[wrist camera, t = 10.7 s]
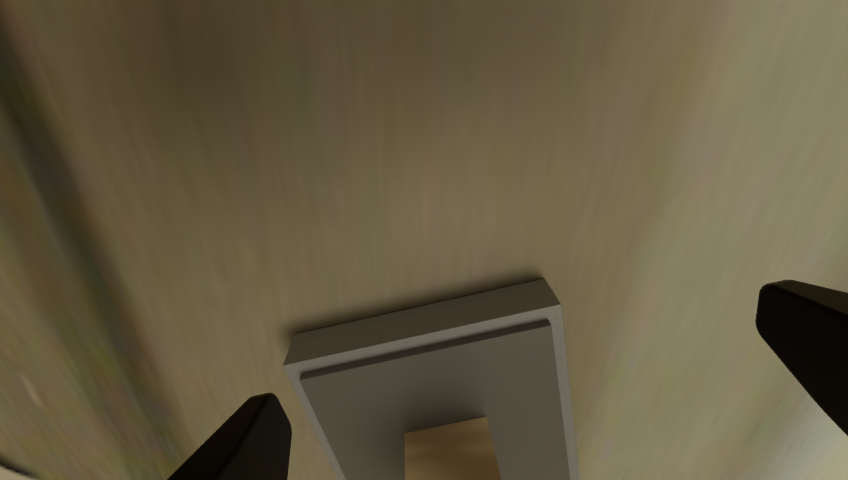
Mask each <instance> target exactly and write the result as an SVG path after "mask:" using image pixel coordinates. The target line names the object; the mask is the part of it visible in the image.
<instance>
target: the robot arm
mask: <svg viewBox="0 0 848 480" xmlns="http://www.w3.org/2000/svg"><path fill="white" fill-rule="evenodd" d="M756 327H757V330H758V332H759V334H760V335H761V337H762V338H763V339H764V340H765V342H766V343H767V344H768V345H769V346H770V348H771V349H772V350H773V351H774V352H775V354H776V355H777V356H778V357H779V358H780V360H781V361H782V362H783V363H784V364H785V366H786V367H787V368H788V369H789V371H790V372H791V373H792V374H793V375H794V377H795V378H796V379H797V380H798V381H799V383H800V384H801V385H802V386H803V387H804V389H805V390H806V391H807V392H808V393H809V395H810V396H811V397H812V398H813V399H814V400H815V402H816V403H817V404H818V405H819V406H820V407H821V408H822V410H823V411H824V412H825V413H826V414H827V415H828V416H829V417H830V418H831V419H832V420H833V421H834V422H835V423H836V424H837V425H838V427H839V428H840V429H841V430H842V431H843V432H844V433H845V434H846V435H847V436H848V293H846V292H842V291H837V290H833V289H829V288H825V287H820V286H816V285H812V284H807V283H803V282H799V281H794V280H783V281H778V282H773V283H769V284H766V285H764V286H763V287H762V288H761V289H760V292H759V299H758V307H757V314H756ZM291 436H292V430H291V425H290V422H289V420H288V418H287V416H286V414H285V412H284V410H283V408H282V406H281V404H280V402H279V400H278V398H277V397H276V395H274V394H273V393H265V394H261V395H256V396H253V397H250V398H249V399H248V400H247V401H246V402H245V403H244V404H243V405H242V406H241V407H240V408H239V409H238V410H237V411H236V412H235V413H234V414H233V415H232V416H231V417H230V418H229V419H228V420H227V421H226V422H225V423H224V424H223V425H222V426H221V427H220V428H219V429H218V430H217V431H216V432H215V433H214V434H213V435H212V436H211V437H210V438H209V439H208V440H207V441H206V442H205V443H204V444H203V445H201V446H200V447H199V448H198V449H197V450H196V451H195V452H194V453H193V454H192V455H191V456H190V457H189V458H188V459H187V460H186V461H185V462H184V463H183V464H182V465H181V466H180V467H179V468H178V469H177V470H176V471H175V472H174V473H173V474H172V475H171V476H170V477H169V478H168V479H167V480H287V476H288V466H289V456H290V446H291Z"/></svg>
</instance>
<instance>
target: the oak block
mask: <svg viewBox="0 0 848 480" xmlns="http://www.w3.org/2000/svg"><path fill="white" fill-rule="evenodd" d="M405 480H501V476H500V472H499V467H498V463H497V459H496V455H495V450H494V446H493V442H492V438H491V433H490V429H489V425H488V421H487V417H482V418H477V419H472V420H467V421H463V422H458V423H453V424H448V425H443V426H438V427H433V428H428V429H423V430H418V431H414V432H409V433H405Z"/></svg>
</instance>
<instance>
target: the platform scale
mask: <svg viewBox="0 0 848 480" xmlns="http://www.w3.org/2000/svg"><path fill="white" fill-rule="evenodd" d="M283 367H284V369H285V371H286V373H287V375H288V377H289V379H290V381H291V383H292V385H293V387H294V389H295V391H296V393H297V396H298V398H299V400H300V402H301V404H302V406H303V408H304V410H305V412H306V414H307V416H308V418H309V420H310V422H311V424H312V427H313V429H314V431H315V433H316V435H317V437H318V439H319V441H320V443H321V445H322V447H323V449H324V451H325V453H326V455H327V457H328V460H329V462H330V464H331V466H332V468H333V470H334V472H335V474H336V476H337V478H338V480H405V433H409V432H414V431H418V430H423V429H428V428H433V427H438V426H443V425H448V424H453V423H458V422H463V421H467V420H472V419H477V418H482V417H487V421H488V425H489V429H490V433H491V438H492V442H493V446H494V450H495V455H496V459H497V463H498V467H499V472H500V476H501V480H580V478H579V468H578V459H577V450H576V440H575V431H574V422H573V412H572V403H571V394H570V384H569V375H568V366H567V356H566V347H565V338H564V328H563V319H562V310H561V304H560V302H559V301H558V299H557V297H556V296H555V294H554V293H553V291H552V290H551V288H550V286H549V285H548V283H547V282H546V280H545V279H540V280H536V281H531V282H527V283H522V284H518V285H513V286H509V287H504V288H500V289H495V290H491V291H487V292H482V293H478V294H473V295H469V296H464V297H460V298H455V299H451V300H446V301H442V302H437V303H433V304H429V305H424V306H420V307H415V308H411V309H406V310H402V311H397V312H393V313H388V314H384V315H379V316H375V317H370V318H366V319H362V320H357V321H353V322H348V323H344V324H339V325H335V326H330V327H326V328H321V329H317V330H312V331H308V332H303V333H299V334H295V335H294V338H293V341H292V343H291V346H290V348H289V351H288V354H287V356H286V359H285V362H284V364H283Z"/></svg>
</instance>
